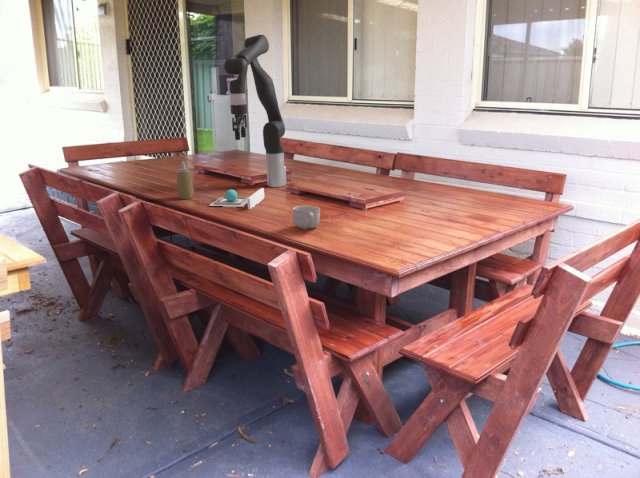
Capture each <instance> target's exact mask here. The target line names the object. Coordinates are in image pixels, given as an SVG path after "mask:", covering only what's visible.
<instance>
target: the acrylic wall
mask: <svg viewBox="0 0 640 478" xmlns="http://www.w3.org/2000/svg"><path fill="white" fill-rule="evenodd" d="M248 197H249V198H247V201H248V204H247V210H249V209H251V208H252V207H253V208H255V205H256V204H257V205H259V203H260V202H262V201H263V200H264V199H265V188H264V187H261V188H259V189H258V190H257V191H255V192H254V193H253V194H251V195H250V196H248ZM257 205H256V206H257ZM253 208H252V209H253ZM252 209H251V210H252Z"/></svg>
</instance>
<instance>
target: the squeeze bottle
mask: <svg viewBox="0 0 640 478" xmlns="http://www.w3.org/2000/svg"><path fill="white" fill-rule="evenodd" d="M194 190H195V189H194V184H193V180H192V174H191V173H190V172H189V168H188V167H186V164H185V161H184V160H181V163H180V168H179V169H178V173H176V193H177V195H178V197H179V199H180V198H181V200H189V199H192V198H193V195H194V192H195V191H194Z"/></svg>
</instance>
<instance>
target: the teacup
mask: <svg viewBox="0 0 640 478" xmlns="http://www.w3.org/2000/svg"><path fill="white" fill-rule="evenodd" d="M320 217H321V208H320V207H319V206H314V205H313V206H312V205H298V206H297V205H296V206H294V207H292V221H293V224H294V225H295V226H296V227H297V228H298V227H299V228H298V229H300V228H313V227H315V228H316V227H317V226H318V225H319V223H320V221H321V220H320ZM313 229H314V228H313Z"/></svg>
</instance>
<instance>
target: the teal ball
mask: <svg viewBox="0 0 640 478" xmlns="http://www.w3.org/2000/svg"><path fill="white" fill-rule="evenodd" d="M224 197H226V199H227V200H228V201H234V200H236V198H237V197H238V193H237V191H236V190H234V189H228V190H227V191H225V193H224Z"/></svg>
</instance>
